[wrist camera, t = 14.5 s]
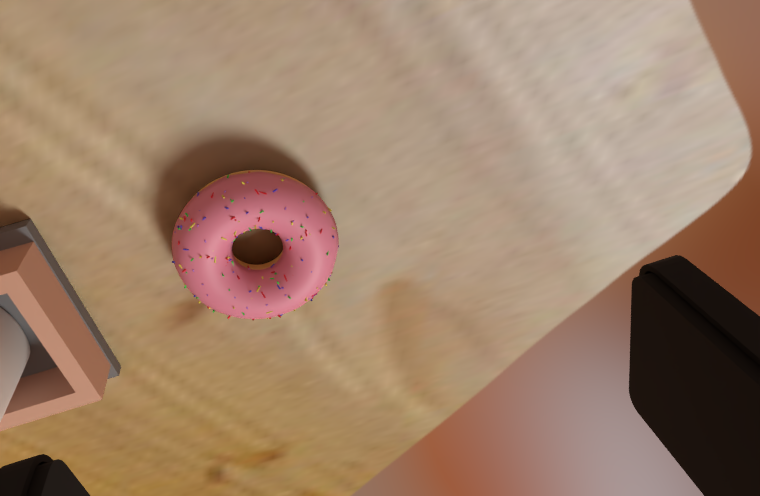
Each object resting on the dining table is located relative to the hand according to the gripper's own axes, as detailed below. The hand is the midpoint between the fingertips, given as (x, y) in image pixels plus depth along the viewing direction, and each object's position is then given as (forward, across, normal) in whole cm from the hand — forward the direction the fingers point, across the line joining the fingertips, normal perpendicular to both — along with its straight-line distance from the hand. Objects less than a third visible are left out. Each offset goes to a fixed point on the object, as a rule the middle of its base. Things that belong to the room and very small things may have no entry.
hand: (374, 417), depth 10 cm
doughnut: (+31, +5, +12) cm, 33 cm away
